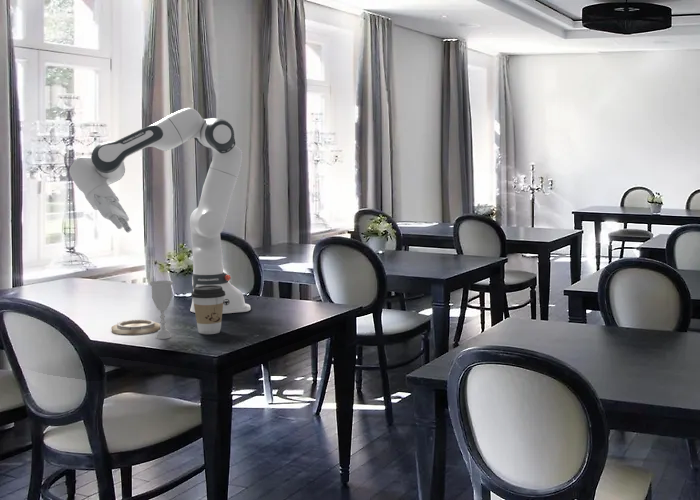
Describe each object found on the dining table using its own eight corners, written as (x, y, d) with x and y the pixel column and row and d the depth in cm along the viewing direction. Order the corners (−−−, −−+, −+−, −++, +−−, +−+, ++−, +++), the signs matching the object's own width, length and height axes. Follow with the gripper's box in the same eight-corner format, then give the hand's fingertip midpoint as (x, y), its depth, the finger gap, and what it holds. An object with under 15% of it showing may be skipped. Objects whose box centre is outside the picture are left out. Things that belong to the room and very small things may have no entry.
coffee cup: (201, 337, 275) (200, 291, 273) (186, 331, 284) (184, 287, 282) (232, 332, 281) (231, 287, 279) (216, 326, 290) (215, 283, 289)
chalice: (176, 334, 279) (174, 280, 277) (172, 339, 272) (170, 283, 270) (154, 334, 279) (152, 280, 276) (149, 339, 272) (147, 284, 270)
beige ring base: (160, 323, 297) (160, 317, 296) (160, 333, 281) (160, 326, 281) (113, 326, 293) (112, 319, 293) (110, 336, 278) (109, 329, 277)
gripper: (99, 187, 284) (123, 219, 282) (118, 197, 304) (141, 228, 303) (84, 199, 284) (108, 231, 282) (104, 208, 304) (126, 238, 303)
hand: (125, 229), depth 293 cm, fingers open, 8 cm apart
